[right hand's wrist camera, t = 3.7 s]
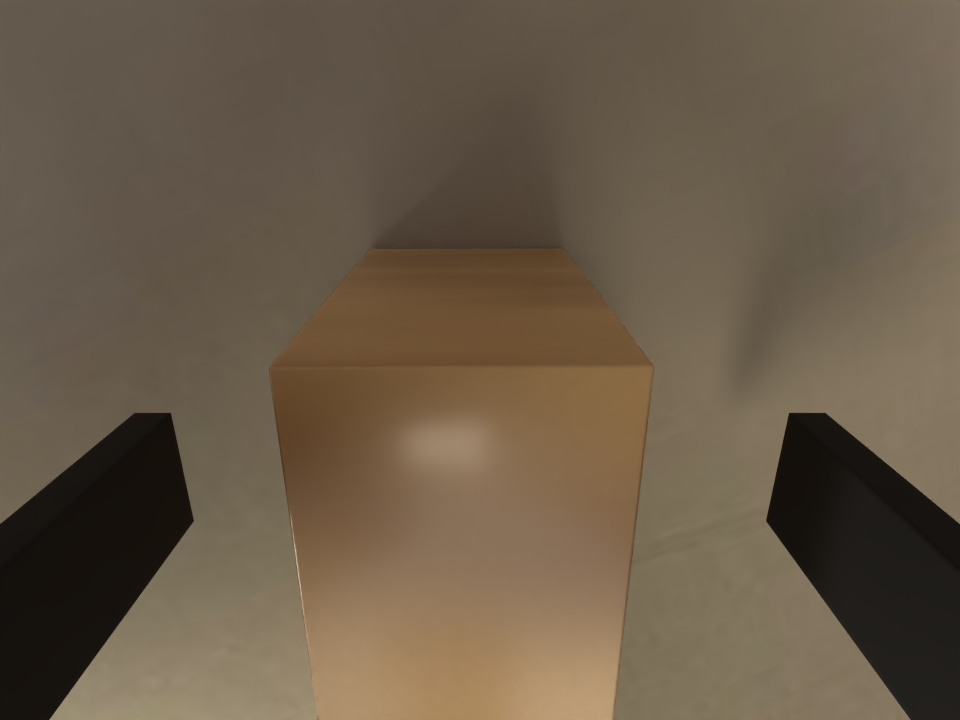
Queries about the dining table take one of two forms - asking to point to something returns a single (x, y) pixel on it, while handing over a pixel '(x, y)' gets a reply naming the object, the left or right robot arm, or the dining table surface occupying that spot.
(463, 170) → the dining table surface
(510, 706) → the beam
